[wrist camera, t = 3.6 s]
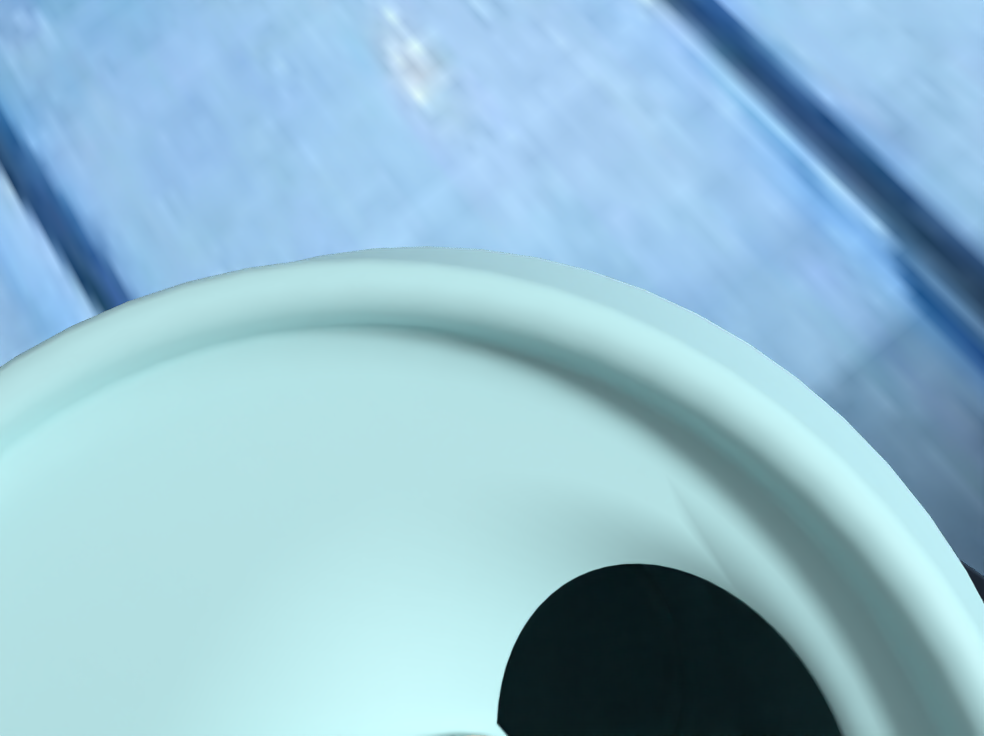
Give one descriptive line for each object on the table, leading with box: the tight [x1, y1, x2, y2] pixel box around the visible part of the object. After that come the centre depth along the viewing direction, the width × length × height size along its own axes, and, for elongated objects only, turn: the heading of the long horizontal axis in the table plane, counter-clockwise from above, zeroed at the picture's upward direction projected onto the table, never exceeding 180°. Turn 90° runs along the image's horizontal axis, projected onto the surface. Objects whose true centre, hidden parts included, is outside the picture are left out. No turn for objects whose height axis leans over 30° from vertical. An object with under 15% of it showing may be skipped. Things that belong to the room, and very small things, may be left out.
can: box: [0, 246, 984, 736], centre depth 9 cm, size 7×7×12 cm
